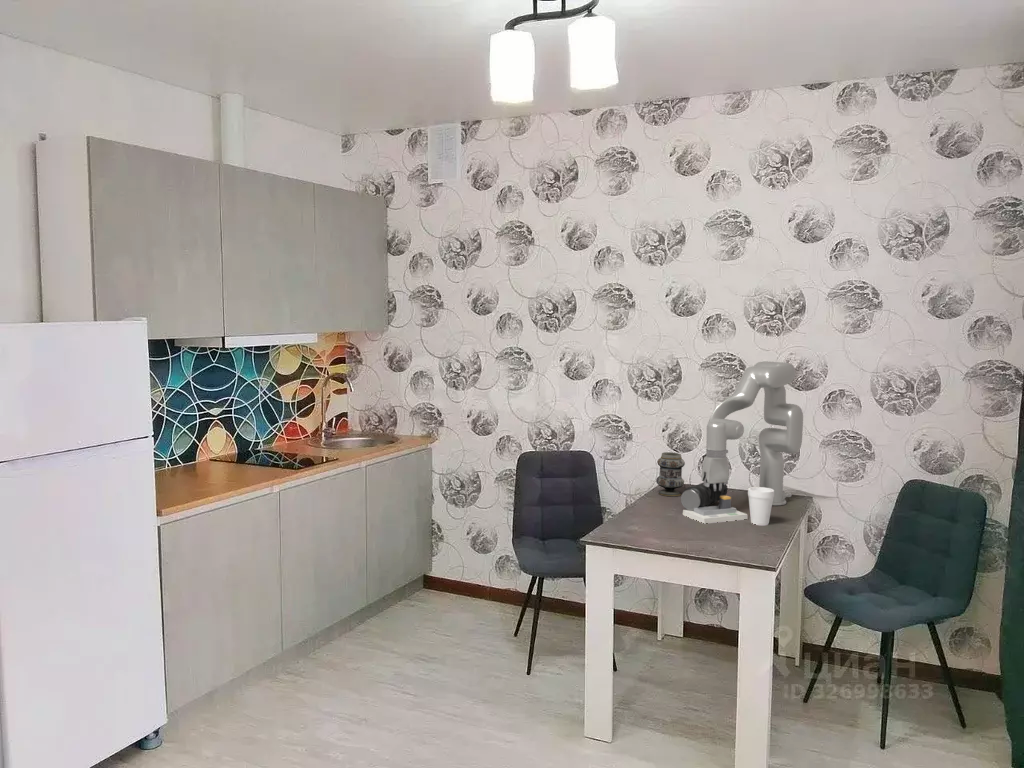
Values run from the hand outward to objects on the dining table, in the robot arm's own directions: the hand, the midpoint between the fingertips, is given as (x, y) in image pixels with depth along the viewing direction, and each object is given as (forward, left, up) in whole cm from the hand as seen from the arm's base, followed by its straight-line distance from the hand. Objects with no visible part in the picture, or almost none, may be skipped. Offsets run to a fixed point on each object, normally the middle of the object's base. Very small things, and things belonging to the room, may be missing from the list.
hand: (715, 500), depth 312 cm
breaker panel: (0, +1, -7) cm, 7 cm away
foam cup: (-10, +14, -7) cm, 19 cm away
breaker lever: (-4, +1, -4) cm, 6 cm away
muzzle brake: (-4, -12, -6) cm, 14 cm away
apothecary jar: (-6, -40, -7) cm, 41 cm away
